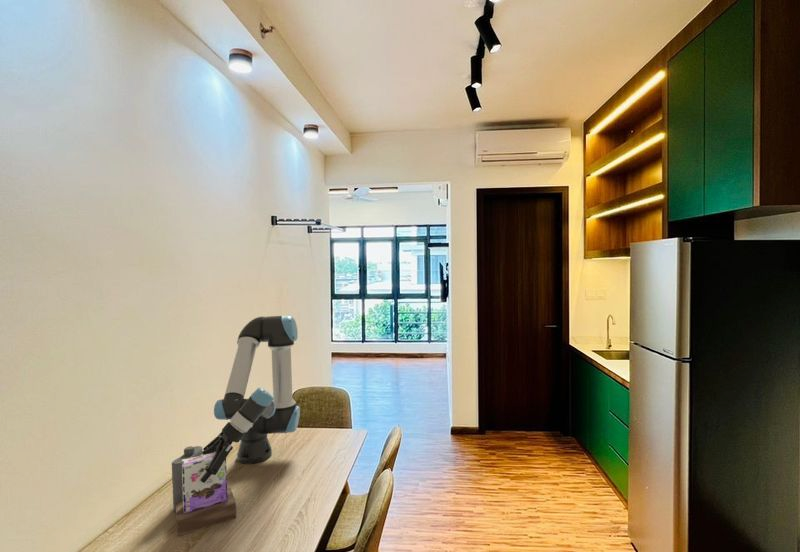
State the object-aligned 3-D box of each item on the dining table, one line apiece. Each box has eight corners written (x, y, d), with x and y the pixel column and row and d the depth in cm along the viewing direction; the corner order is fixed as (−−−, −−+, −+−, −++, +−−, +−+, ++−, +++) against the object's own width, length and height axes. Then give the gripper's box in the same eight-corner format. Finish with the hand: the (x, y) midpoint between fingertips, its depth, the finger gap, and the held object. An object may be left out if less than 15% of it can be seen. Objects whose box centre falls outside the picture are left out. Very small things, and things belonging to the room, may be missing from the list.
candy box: (183, 514, 135) (181, 465, 134) (182, 505, 140) (181, 458, 140) (228, 501, 142) (226, 455, 141) (225, 493, 147) (224, 448, 146)
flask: (186, 512, 144) (183, 457, 144) (170, 512, 145) (168, 457, 144) (208, 489, 159) (206, 439, 159) (194, 489, 160) (192, 439, 159)
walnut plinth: (176, 517, 142) (175, 503, 142) (231, 500, 151) (230, 487, 151) (177, 536, 131) (177, 521, 131) (236, 517, 141) (235, 503, 141)
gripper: (252, 445, 137) (205, 503, 130) (239, 422, 158) (198, 470, 151) (234, 433, 134) (185, 491, 127) (224, 411, 156) (181, 460, 148)
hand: (192, 480), depth 139 cm, fingers open, 13 cm apart
